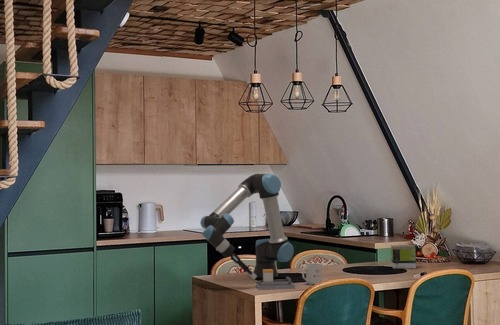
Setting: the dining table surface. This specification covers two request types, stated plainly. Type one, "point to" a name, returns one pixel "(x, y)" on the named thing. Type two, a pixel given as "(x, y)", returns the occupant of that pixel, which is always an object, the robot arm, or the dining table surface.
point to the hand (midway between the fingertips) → (255, 277)
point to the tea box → (403, 256)
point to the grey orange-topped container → (267, 275)
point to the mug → (312, 273)
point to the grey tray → (276, 284)
